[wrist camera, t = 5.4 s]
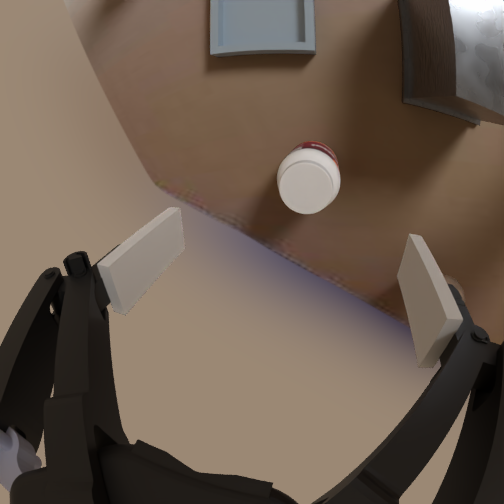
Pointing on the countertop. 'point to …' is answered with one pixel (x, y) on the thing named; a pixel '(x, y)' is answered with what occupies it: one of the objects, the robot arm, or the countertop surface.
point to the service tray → (262, 27)
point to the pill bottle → (309, 177)
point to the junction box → (454, 57)
